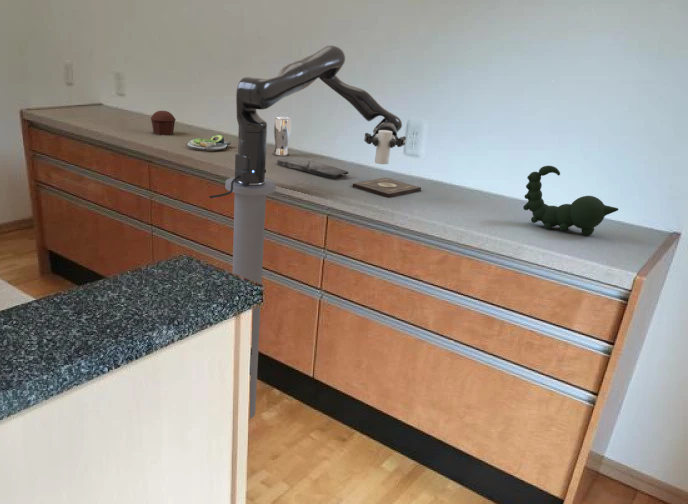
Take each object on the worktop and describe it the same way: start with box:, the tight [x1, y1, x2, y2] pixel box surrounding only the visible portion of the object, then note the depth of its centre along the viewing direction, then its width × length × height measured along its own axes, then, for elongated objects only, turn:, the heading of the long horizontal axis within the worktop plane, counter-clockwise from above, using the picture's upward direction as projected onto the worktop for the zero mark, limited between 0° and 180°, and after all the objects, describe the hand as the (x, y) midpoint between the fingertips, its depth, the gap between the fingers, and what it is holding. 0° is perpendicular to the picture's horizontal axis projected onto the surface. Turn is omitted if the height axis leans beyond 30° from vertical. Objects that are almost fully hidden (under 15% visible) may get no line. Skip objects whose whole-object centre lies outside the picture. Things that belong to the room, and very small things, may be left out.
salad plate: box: [187, 134, 232, 152], centre depth 255 cm, size 19×18×5 cm
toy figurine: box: [522, 165, 619, 236], centre depth 174 cm, size 9×19×25 cm
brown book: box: [352, 177, 422, 198], centre depth 211 cm, size 18×16×1 cm
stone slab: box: [276, 157, 349, 181], centre depth 229 cm, size 10×3×30 cm
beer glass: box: [273, 116, 292, 157], centre depth 251 cm, size 7×7×15 cm
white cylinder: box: [374, 130, 392, 165], centre depth 193 cm, size 4×4×10 cm
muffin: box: [150, 110, 176, 136], centre depth 280 cm, size 12×11×10 cm
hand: (383, 143), depth 190 cm, fingers closed on white cylinder, 4 cm apart
